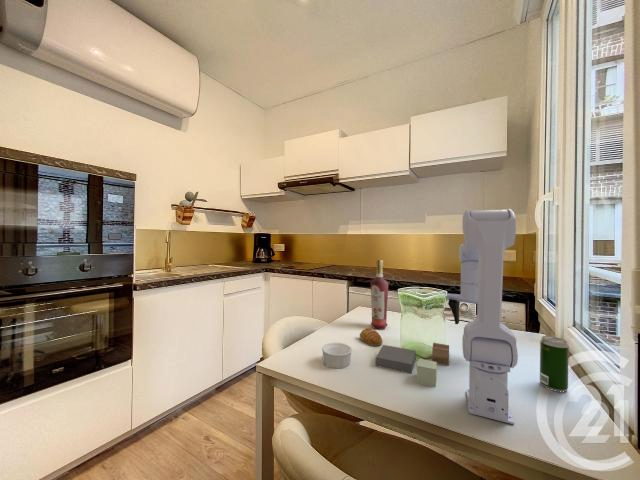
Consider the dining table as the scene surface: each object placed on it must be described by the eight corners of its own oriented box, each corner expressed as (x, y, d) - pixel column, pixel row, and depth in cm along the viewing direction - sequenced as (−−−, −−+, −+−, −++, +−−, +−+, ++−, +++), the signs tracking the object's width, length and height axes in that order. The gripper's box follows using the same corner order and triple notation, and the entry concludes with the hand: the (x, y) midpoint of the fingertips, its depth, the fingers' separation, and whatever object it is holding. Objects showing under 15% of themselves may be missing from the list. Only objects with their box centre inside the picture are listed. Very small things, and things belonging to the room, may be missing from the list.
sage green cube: (435, 387, 67) (436, 369, 67) (416, 383, 69) (417, 365, 69) (436, 378, 71) (436, 362, 71) (418, 375, 73) (418, 358, 73)
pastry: (387, 346, 93) (387, 335, 93) (370, 348, 91) (370, 337, 91) (373, 336, 102) (373, 326, 102) (357, 338, 100) (357, 328, 100)
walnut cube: (449, 366, 79) (449, 350, 79) (432, 362, 80) (432, 347, 80) (448, 359, 83) (449, 345, 83) (433, 356, 85) (433, 342, 85)
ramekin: (357, 362, 80) (357, 348, 80) (339, 373, 74) (339, 357, 74) (334, 353, 86) (335, 340, 86) (315, 362, 80) (315, 348, 80)
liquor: (391, 327, 112) (392, 260, 112) (382, 331, 107) (382, 261, 106) (376, 323, 117) (376, 259, 117) (366, 327, 112) (367, 260, 111)
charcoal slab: (411, 375, 74) (411, 364, 74) (375, 367, 78) (375, 357, 78) (415, 360, 83) (415, 350, 83) (383, 354, 87) (383, 344, 87)
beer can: (556, 394, 64) (557, 344, 64) (534, 382, 70) (534, 336, 70) (573, 391, 66) (574, 342, 65) (550, 380, 71) (551, 334, 71)
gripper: (500, 284, 83) (499, 327, 83) (449, 279, 92) (449, 318, 92) (497, 287, 77) (496, 334, 78) (443, 281, 87) (443, 323, 87)
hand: (470, 326), depth 84 cm, fingers open, 7 cm apart
